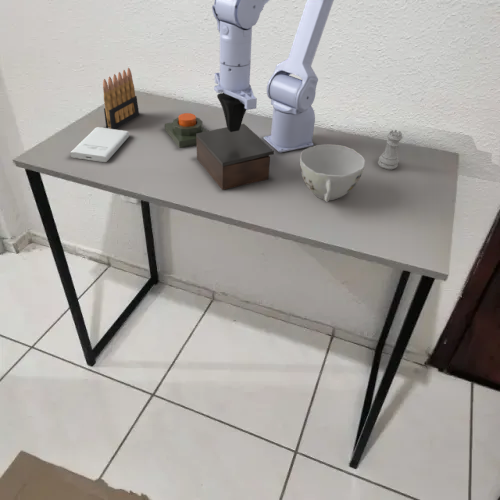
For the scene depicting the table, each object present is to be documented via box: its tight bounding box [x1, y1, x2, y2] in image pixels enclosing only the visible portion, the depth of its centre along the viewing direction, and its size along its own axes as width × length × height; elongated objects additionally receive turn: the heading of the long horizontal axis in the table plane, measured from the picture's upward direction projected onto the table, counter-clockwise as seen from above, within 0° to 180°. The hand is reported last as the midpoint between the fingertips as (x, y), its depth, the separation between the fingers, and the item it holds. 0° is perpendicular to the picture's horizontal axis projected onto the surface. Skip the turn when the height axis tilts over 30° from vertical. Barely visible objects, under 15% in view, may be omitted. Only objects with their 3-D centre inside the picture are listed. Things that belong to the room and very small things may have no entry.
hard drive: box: [69, 126, 130, 163], centre depth 105 cm, size 2×8×12 cm
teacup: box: [299, 143, 366, 203], centre depth 92 cm, size 15×12×8 cm
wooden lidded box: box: [196, 137, 271, 191], centre depth 99 cm, size 11×14×5 cm
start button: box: [178, 112, 197, 127], centre depth 109 cm, size 4×4×2 cm
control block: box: [164, 116, 208, 149], centre depth 111 cm, size 10×8×4 cm
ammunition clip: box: [102, 67, 140, 130], centre depth 112 cm, size 11×2×12 cm, turn 154°
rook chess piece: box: [377, 129, 403, 171], centre depth 103 cm, size 4×4×8 cm
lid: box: [196, 123, 275, 166], centre depth 97 cm, size 11×14×1 cm
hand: (233, 129), depth 95 cm, fingers closed
